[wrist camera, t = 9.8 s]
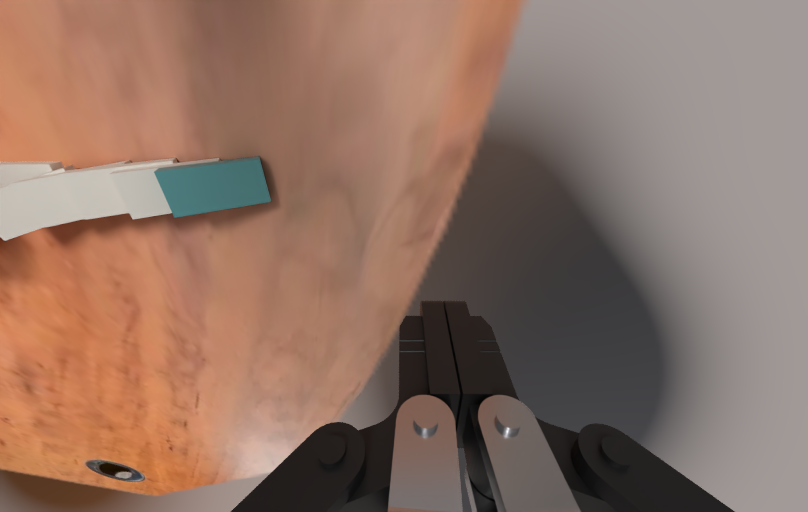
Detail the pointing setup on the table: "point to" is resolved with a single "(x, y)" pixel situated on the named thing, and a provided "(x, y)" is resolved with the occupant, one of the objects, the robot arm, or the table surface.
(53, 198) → the domino
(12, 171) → the domino
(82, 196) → the domino
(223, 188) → the domino
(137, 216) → the domino
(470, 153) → the table surface
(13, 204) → the domino
